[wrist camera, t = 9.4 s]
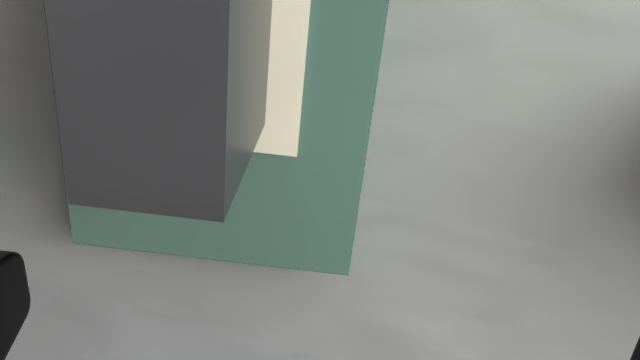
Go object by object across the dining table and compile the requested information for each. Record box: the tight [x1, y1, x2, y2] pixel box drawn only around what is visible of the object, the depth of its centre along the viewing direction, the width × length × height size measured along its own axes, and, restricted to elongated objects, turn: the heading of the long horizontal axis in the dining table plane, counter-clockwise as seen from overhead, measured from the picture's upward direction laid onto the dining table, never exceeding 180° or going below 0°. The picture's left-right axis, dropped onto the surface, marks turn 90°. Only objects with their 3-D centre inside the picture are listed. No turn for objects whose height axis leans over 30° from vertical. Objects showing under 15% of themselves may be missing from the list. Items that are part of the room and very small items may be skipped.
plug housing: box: [45, 0, 272, 223], centre depth 13 cm, size 7×3×6 cm, turn 174°
